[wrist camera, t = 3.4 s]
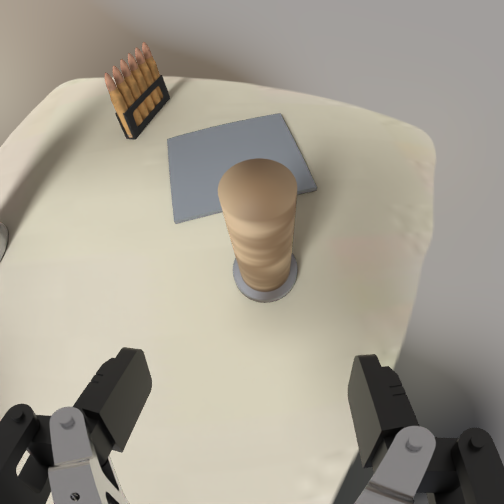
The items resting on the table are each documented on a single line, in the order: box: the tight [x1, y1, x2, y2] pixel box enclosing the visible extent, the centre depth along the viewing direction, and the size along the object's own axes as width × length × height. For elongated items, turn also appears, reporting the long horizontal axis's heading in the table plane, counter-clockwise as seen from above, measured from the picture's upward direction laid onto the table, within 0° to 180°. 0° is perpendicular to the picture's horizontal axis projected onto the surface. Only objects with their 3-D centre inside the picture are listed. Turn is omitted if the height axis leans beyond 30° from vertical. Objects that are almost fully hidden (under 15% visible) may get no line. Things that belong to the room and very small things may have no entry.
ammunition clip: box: [105, 42, 170, 139], centre depth 36 cm, size 11×2×12 cm, turn 160°
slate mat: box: [167, 113, 317, 224], centre depth 35 cm, size 16×14×1 cm
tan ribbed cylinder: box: [218, 158, 297, 303], centre depth 23 cm, size 6×6×13 cm
